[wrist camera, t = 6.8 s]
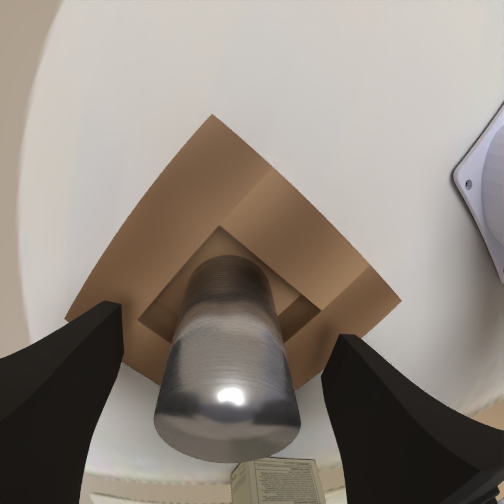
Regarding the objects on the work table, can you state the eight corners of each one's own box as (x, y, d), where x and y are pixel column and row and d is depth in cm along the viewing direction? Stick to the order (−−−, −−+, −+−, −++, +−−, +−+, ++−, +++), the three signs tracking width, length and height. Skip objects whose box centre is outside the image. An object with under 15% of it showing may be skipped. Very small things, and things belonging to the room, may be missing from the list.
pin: (277, 259, 12) (318, 386, 6) (264, 330, 14) (284, 463, 7) (188, 250, 12) (146, 374, 6) (185, 323, 13) (160, 456, 7)
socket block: (378, 274, 14) (401, 300, 11) (239, 393, 16) (240, 426, 14) (217, 118, 11) (212, 113, 8) (86, 291, 13) (64, 318, 11)
